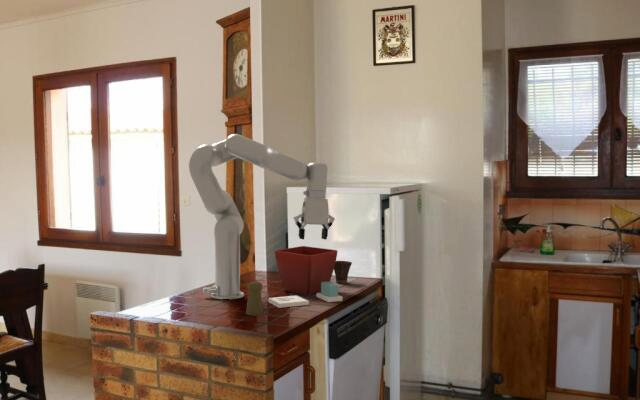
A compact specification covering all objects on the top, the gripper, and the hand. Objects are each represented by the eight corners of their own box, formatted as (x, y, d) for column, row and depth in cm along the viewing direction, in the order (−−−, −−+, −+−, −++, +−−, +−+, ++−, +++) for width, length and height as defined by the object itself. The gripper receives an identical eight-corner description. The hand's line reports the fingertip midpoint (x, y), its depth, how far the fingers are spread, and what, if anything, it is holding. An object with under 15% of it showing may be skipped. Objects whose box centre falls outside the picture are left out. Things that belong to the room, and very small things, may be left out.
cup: (324, 281, 260) (327, 258, 260) (338, 281, 266) (342, 259, 266) (338, 285, 253) (341, 262, 253) (352, 285, 259) (356, 263, 259)
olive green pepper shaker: (254, 310, 207) (255, 279, 207) (266, 313, 203) (267, 281, 203) (242, 313, 202) (242, 281, 202) (254, 316, 199) (254, 284, 198)
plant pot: (309, 298, 229) (310, 255, 228) (273, 291, 240) (273, 250, 239) (338, 290, 244) (338, 250, 243) (302, 284, 255) (302, 245, 254)
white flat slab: (279, 307, 211) (279, 303, 211) (268, 302, 220) (268, 297, 220) (308, 304, 217) (308, 300, 217) (297, 299, 226) (297, 295, 226)
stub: (328, 302, 221) (328, 286, 221) (316, 296, 230) (316, 281, 229) (342, 300, 224) (342, 285, 223) (329, 295, 232) (330, 280, 232)
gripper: (299, 194, 218) (296, 240, 219) (340, 196, 226) (337, 240, 227) (291, 193, 225) (288, 237, 226) (331, 195, 233) (328, 237, 234)
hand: (312, 238), depth 227 cm, fingers open, 9 cm apart
